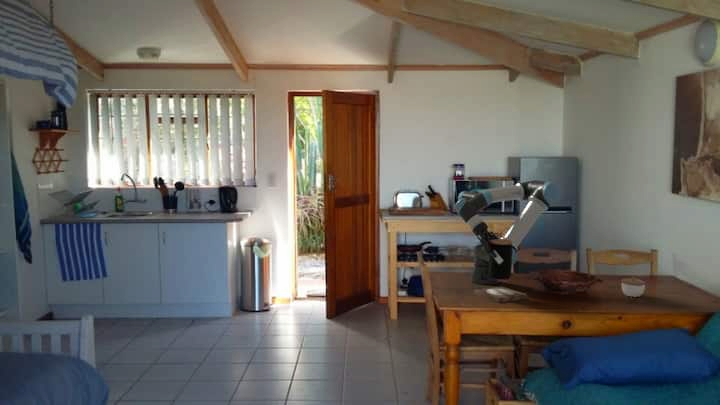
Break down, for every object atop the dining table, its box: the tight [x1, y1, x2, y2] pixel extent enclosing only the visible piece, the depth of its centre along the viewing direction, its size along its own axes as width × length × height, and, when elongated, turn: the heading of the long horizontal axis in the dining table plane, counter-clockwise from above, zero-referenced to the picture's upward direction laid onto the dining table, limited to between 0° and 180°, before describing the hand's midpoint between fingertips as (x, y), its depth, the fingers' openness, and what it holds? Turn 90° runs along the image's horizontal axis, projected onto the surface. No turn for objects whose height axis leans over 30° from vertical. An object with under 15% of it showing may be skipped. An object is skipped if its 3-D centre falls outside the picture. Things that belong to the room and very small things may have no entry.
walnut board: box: [473, 286, 528, 304], centre depth 288 cm, size 18×18×2 cm
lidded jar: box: [621, 277, 646, 297], centre depth 292 cm, size 11×11×9 cm
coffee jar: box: [489, 239, 513, 281], centre depth 287 cm, size 11×11×18 cm
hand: (506, 260), depth 285 cm, fingers closed on coffee jar, 11 cm apart
